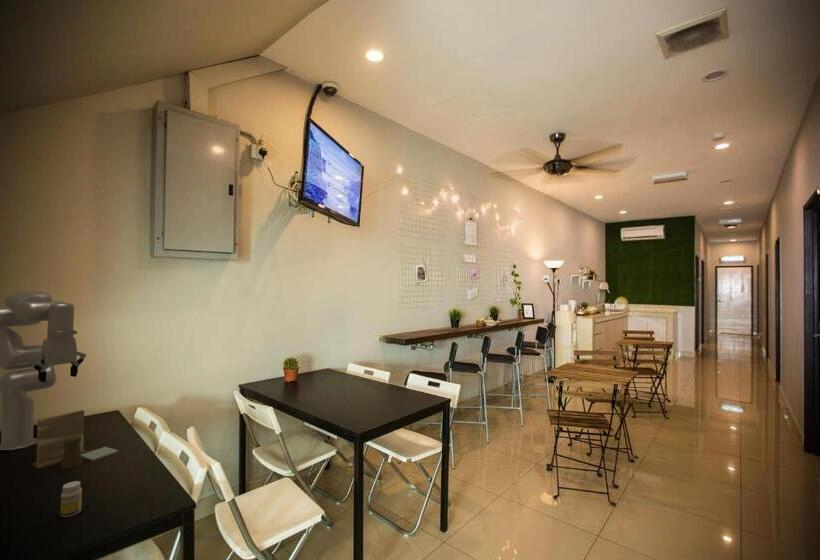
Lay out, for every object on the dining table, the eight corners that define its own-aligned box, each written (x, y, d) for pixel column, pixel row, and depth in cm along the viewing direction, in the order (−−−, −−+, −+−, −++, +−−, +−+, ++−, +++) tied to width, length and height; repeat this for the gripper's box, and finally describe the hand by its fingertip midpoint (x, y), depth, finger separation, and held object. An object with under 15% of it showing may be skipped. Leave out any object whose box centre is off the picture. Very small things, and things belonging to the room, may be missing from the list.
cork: (69, 469, 143) (70, 439, 143) (56, 468, 144) (57, 438, 144) (86, 462, 148) (87, 433, 149) (73, 461, 150) (74, 432, 150)
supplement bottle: (69, 508, 117) (69, 480, 118) (85, 508, 118) (86, 479, 118) (56, 518, 113) (56, 488, 113) (73, 517, 113) (74, 488, 113)
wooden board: (32, 466, 145) (33, 420, 146) (80, 451, 159) (81, 409, 159) (39, 468, 143) (40, 422, 144) (87, 453, 157) (88, 410, 157)
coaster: (79, 456, 154) (79, 455, 154) (105, 448, 162) (105, 446, 162) (92, 460, 150) (92, 459, 150) (118, 451, 158) (118, 450, 158)
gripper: (81, 331, 161) (79, 373, 161) (26, 336, 145) (24, 382, 145) (91, 333, 158) (89, 375, 158) (36, 338, 142) (34, 385, 142)
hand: (58, 378), depth 151 cm, fingers open, 9 cm apart
